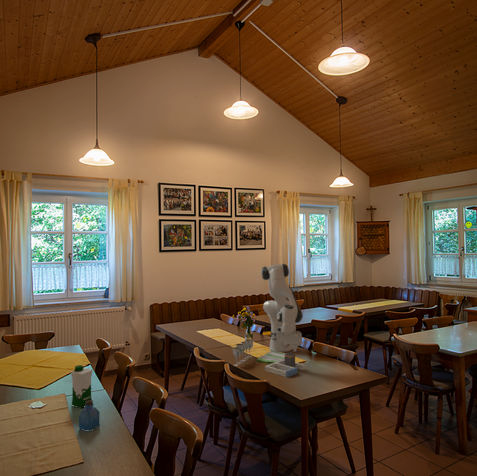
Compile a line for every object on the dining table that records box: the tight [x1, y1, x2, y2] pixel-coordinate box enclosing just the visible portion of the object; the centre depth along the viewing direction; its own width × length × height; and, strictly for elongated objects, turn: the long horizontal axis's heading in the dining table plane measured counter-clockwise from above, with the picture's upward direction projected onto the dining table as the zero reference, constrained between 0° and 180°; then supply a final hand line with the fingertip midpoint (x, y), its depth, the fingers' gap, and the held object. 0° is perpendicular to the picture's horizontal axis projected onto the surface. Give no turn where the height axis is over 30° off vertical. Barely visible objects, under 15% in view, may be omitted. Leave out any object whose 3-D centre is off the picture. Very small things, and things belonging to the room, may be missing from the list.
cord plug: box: [285, 351, 296, 368], centre depth 254 cm, size 5×5×10 cm
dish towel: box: [255, 350, 287, 365], centre depth 277 cm, size 17×23×4 cm
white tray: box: [264, 360, 306, 378], centre depth 251 cm, size 20×19×4 cm
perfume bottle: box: [78, 400, 100, 431], centre depth 173 cm, size 6×6×12 cm
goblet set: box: [232, 339, 254, 367], centre depth 274 cm, size 28×6×13 cm, turn 154°
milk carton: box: [70, 365, 94, 408], centre depth 198 cm, size 9×9×20 cm
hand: (289, 350), depth 254 cm, fingers open, 8 cm apart
